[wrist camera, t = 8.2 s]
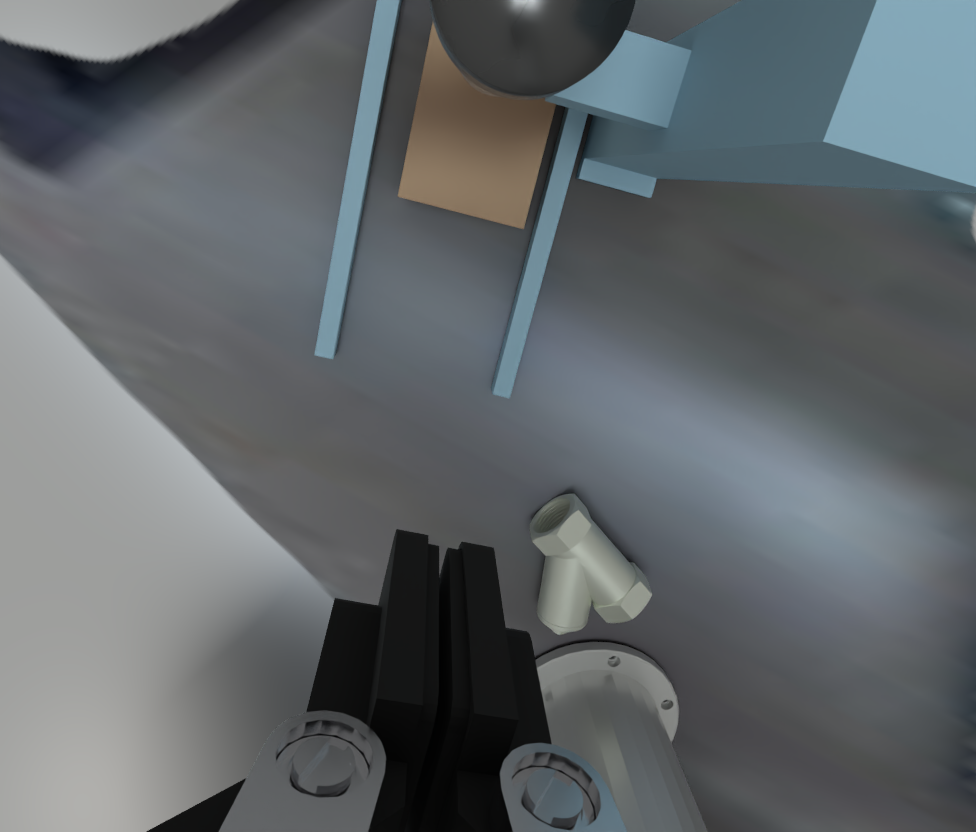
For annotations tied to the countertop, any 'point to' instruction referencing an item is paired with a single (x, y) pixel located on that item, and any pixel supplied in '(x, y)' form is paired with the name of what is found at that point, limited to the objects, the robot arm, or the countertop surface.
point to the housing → (472, 145)
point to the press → (727, 118)
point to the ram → (528, 42)
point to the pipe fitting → (582, 569)
